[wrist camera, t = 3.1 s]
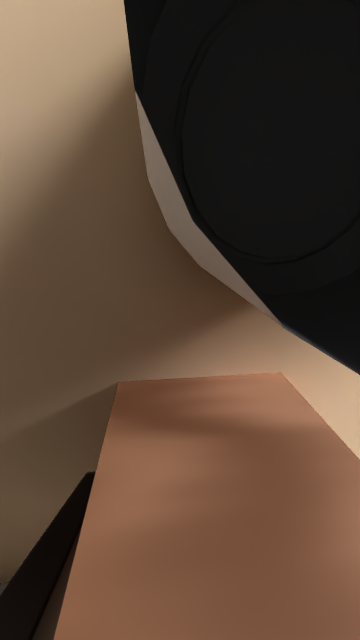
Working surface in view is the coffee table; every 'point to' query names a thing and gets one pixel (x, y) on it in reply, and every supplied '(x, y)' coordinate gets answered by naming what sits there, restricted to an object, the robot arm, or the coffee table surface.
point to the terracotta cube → (217, 518)
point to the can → (259, 151)
